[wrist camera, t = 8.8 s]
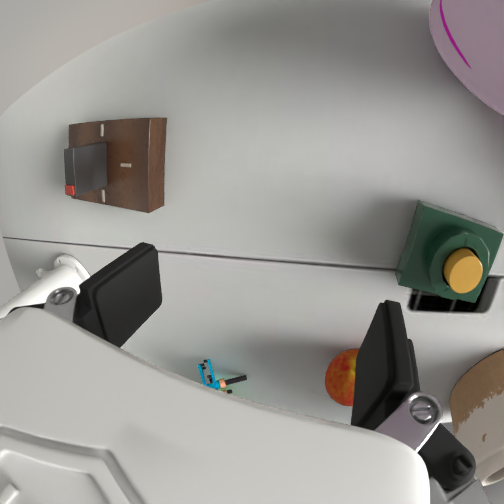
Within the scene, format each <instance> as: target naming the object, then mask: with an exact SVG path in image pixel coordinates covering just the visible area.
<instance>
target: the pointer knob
mask: <svg viewBox="0 0 504 504" xmlns="http://www.w3.org/2000/svg"><path fill="white" fill-rule="evenodd" d="M64 163H65V180H66V185H65V193H66V194H67V195H69V196H75V197H77V196H79V195H82V194H84V193H87V192H90V191H92V190H95V189H98V188H101V187H103V186H106V185H108V181H107V142H97V143H91V144H86V145H81V146H76V147H72V148H67V149H64Z"/></svg>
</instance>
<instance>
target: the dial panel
mask: <svg viewBox="0 0 504 504" xmlns="http://www.w3.org/2000/svg"><path fill="white" fill-rule="evenodd" d="M166 123H167V118H138V119H120V120H106V121H96V122H86V123H78V124H71V125H69V148H72V147H76V146H81V145H86V144H91V143H97V142H107V181H108V185H106V186H103V187H101V188H98V189H95V190H92V191H90V192H87V193H84V194H82V195H79V196H77V197H75V196H71V197H72V198H73V199H79V200H84V201H89V202H95V203H100V204H105V205H110V206H116V207H121V208H126V209H131V210H136V211H141V212H146V213H150V212H152V211H154V210H156V209H158V208H160V207H162V206H164V164H165V140H166Z"/></svg>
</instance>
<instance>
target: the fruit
mask: <svg viewBox="0 0 504 504" xmlns="http://www.w3.org/2000/svg"><path fill="white" fill-rule="evenodd" d="M358 351H359V349H350V350H347V351H344V352H342V353H340V354H339V355H337V356H336V357H335V358H334V359H333V360H332V361H331V363H330V364H329V366H328V368H327V371H326V374H325V386H326V390H327V392H328V394H329V395H330V397H331V398H332V399H333V400H334V401H336V402H337V403H339V404H341V405H344V406H353V398H354V386H355V370H356V358H357V354H358Z"/></svg>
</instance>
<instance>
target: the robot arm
mask: <svg viewBox="0 0 504 504" xmlns="http://www.w3.org/2000/svg"><path fill="white" fill-rule="evenodd" d="M36 274H37V276H38V277H39V278H40V279H39V280H38V281H36V282H35V283H33V284H32V285H30V286H29V287H27V288H26V289H25V290H23V291H22V292H20V293H19V294H17V295H16V296H15V297H13V298H12V299H11V300H9V301H8V302H7V303H5V304H4V305H2V306H1V307H0V504H491V502H490V500H489V498H488V496H487V493H486V491H485V489H484V487H483V485H482V483H481V481H480V479H479V478H477V479H476V480H475V478H474V474H475V470H476V461H475V458H474V456H473V455H472V453H471V452H470V451H469V450H468V449H467V448H466V447H465V446H464V445H463V444H462V443H461V442H460V441H458V440H457V439H456V438H455V437H454V436H453V435H452V434H451V433H450V432H449V431H448V430H447V429H446V428H445V427H444V426H443V425H442V424H441V423H440V421H441V419H442V416H443V410H442V406H441V404H440V402H439V401H438V400H437V399H436V398H435V397H434V396H433V395H431V394H429V393H426V392H420V385H419V378H418V371H417V365H416V359H415V353H414V348H413V343H412V340H411V339H407V333H406V328H405V323H404V318H403V314H402V309H401V305H400V303H399V302H394V301H390V300H385V302H384V303H380V304H379V305H378V308H377V310H376V313H375V315H374V318H373V320H372V322H371V325H370V327H369V329H368V332H367V334H366V336H365V338H364V341H363V343H362V345H361V347H360V349H359V351H358V354H357V358H356V370H355V386H354V398H353V409H352V418H351V425H347V424H342V423H338V422H333V421H328V420H324V419H319V418H314V417H310V416H306V415H302V414H297V413H294V412H290V411H286V410H282V409H278V408H274V407H270V406H267V405H263V404H260V403H256V402H253V401H250V400H247V399H243V398H240V397H237V396H234V395H231V394H228V393H225V392H222V391H219V390H216V389H214V388H211V387H208V386H205V385H203V384H200V383H197V382H195V381H192V380H190V379H187V378H185V377H182V376H180V375H177V374H175V373H172V372H170V371H168V370H165V369H163V368H161V367H159V366H156V365H154V364H152V363H150V362H147V361H145V360H143V359H141V358H139V357H137V356H135V355H133V354H131V353H129V352H127V351H125V350H123V349H121V348H120V347H121V346H122V345H123V344H124V343H125V342H126V341H127V340H128V339H129V338H130V337H131V336H132V335H133V334H134V333H135V332H136V330H137V329H138V328H139V327H140V326H141V325H142V324H143V323H144V322H145V321H146V320H147V319H148V318H149V317H150V316H151V315H152V314H153V313H154V312H155V311H156V310H157V309H158V308H159V307H160V305H161V303H162V292H161V283H160V273H159V262H158V251H157V250H156V249H155V246H154V245H151V244H148V243H144V242H142V243H139V244H138V245H136V246H135V247H133V248H132V249H130V250H129V251H127V252H126V253H124V254H123V255H121V256H120V257H118V258H117V259H115V260H114V261H112V262H111V263H109V264H108V265H106V266H105V267H104V268H102V269H101V270H99V271H98V272H96V273H95V274H93V275H92V276H91V277H90V275H89V274H88V272H87V271H86V269H85V268H84V267H83V266H82V265H81V264H80V262H79V261H77V260H76V259H75V258H73V257H72V256H70V255H67V254H63V255H61V256H59V257H57V258H56V260H55V262H54V269H53V270H51V271H45V270H44V269H42V268H39V269H38V270H37V273H36Z"/></svg>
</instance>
